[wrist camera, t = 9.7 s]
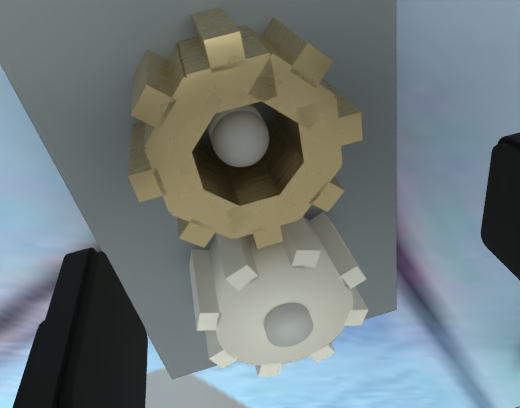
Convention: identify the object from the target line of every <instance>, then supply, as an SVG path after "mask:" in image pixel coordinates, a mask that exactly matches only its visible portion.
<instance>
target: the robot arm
mask: <svg viewBox="0 0 520 408" xmlns="http://www.w3.org/2000/svg"><path fill="white" fill-rule="evenodd" d="M481 238H482V241H483V243H484V244H485V246H486V247H487V248H488V249H489V250H490V251H491V252H492V253H493V254H494V255H495V256H496V257H497V258H498V259H499V260H500V261H501V262H502V263H503V264H504V265H505V266H506V267H507V268H508V269H509V270H510V271H511V272H512V273H513V274H514V275H515V276H516V277H517V278H518V279H519V280H520V133H516V134H512V135H509V136H505V137H502V138H501V139H500V140H499V141H498V144H497V145H496V146H494V148H493V150H492V155H491V162H490V170H489V177H488V184H487V191H486V198H485V206H484V213H483V220H482V227H481ZM147 348H148V338H147V332H146V329H145V327H144V325H143V323H142V321H141V319H140V317H139V315H138V313H137V311H136V310H135V308H134V306H133V304H132V302H131V300H130V298H129V296H128V295H127V293H126V291H125V289H124V287H123V285H122V283H121V281H120V280H119V278H118V276H117V274H116V272H115V270H114V268H113V266H112V265H111V263H110V261H109V259H108V257H107V255H106V254H105V253H104V252H103V251H101V252H97V251H96V250H95V249H94V248H88V249H84V250H80V251H77V252H73V253H69V254H67V255H65V257H64V260H63V263H62V266H61V269H60V273H59V276H58V279H57V283H56V286H55V289H54V293H53V296H52V299H51V302H50V306H49V309H48V312H47V316H46V319H45V321H43V322H42V323H41V324H40V325H39V327H38V329H37V332H36V335H35V338H34V342H33V345H32V348H31V351H30V354H29V357H28V361H27V364H26V367H25V370H24V373H23V376H22V380H21V383H20V386H19V389H18V392H17V395H16V399H15V402H14V405H13V408H145V398H146V395H145V394H146V373H147ZM516 408H520V406H519V407H516Z"/></svg>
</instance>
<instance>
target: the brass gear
mask: <svg viewBox="0 0 520 408" xmlns="http://www.w3.org/2000/svg"><path fill="white" fill-rule="evenodd" d="M191 15H192V18H193V22H194V26H195V30H196V33H197V37H193V38H189V39H185V40H181V41H178V44H177V43H176V44H175V46H174V48H173V50H172V51H171V53H170V55H169V57H168V59H167V60H165V59H164V58H162V57H160V56H158V55H157V54H155V53H153V52H152V51H150V50H148V49H147V50H146V52H145V54H144V56H143V58H142V60H141V62H140V64H139V66H138V68H137V70H136V72H135V75H134V85H133V96H132V106H131V116H133V117H135V118H137V119H139V120H141V121H143V122H141V123H137V124H134V125H132V133H131V145H130V157H129V169H128V177H129V180H130V182H131V184H132V187H133V189H134V191H135V193H136V196H137V198H138V200H139V202H142V201H146V200H150V199H153V198H157V197H160V196H163V198H164V201H165V204H166V206H167V209H168V211H169V213H171V215H173V216H176V217H177V222H178V233H179V239H182V240H185V241H188V242H190V243H193V244H196V245H198V246H201V247H204V248H205V246H206V245H207V243H208V242H209V240H210V239H211V238H212V236H213V235H214V233H215V232H216V233H218V234H221V235H224V236H226V237H229V238H231V239H232V238H233V237H234V239H236V238H239V237H243V236H246V235H250V234H252V235H253V238H254V241H255V244H256V247H257V249H259V248H262V247H266V246H269V245H273V244H276V243H279V242H283V237H282V232H281V227H280V226H281V225H284V224H288V223H291V222H295V221H298V220H299V219H301V218H302V217H303V215H304V214H305V213H306V212H307V210H308V209H309V208H310V206H311V205H312V204H313V205H315V206H317V207H319V208H321V209H323V210H325V211H327V212H328V211H329V210H330V209H331V207H332V206H333V205H334V204H335V202H336V201H337V200H338V199H339V198H340V196H341V195H342V194H343V193H344V191H345V190H344V189H343V187H342V186H341V185H340V183H339V182H338V180H337V179H336V178H335V174H336V173H337V172H338V171H339V169H340V168H341V167H342V166H341V165H342V164H343V163H342V152H341V146H343V145H347V144H350V143H354V142H357V141H361V140H363V139H362V120H361V112H360V111H359V110H358V109H357V108H356V107H355V106H354V105H353V104H352V103H350V102H349V101H348V100H347V99H346V98H345V97H344V96H343V95H341V94H340V93H339V92H338V91H337V90H336V89H335V88H334V87H333V86H331V85H330V84H329V83H328V82H327V81H326V80H325V79H324V78H323V76H324V75H325V74H326V72H327V71H328V69H329V68H330V66H331V65H332V63H333V62H334V61H332V60H331V59H330V58H328V57H327V56H326V55H324V54H323V53H322V52H320V51H319V50H318V49H316V48H315V47H314V46H312V45H311V44H310V43H308V42H307V41H306V40H304V39H303V38H302V37H300V36H299V35H298V34H296V33H295V32H294V31H292V30H291V29H290V28H288V27H287V26H285V25H284V24H283V23H281V22H280V21H278V20H277V19H276V18H274V17H273V19H272V20H271V22H270V23H269V25H268V27H267V28H266V30H265V32H264V33H263V35H262V36H261V35H260V34H258V33H257V32H256V31H254V30H253V29H251V28H250V27H248V26H247V25H246V26H245V25H240V26H237V27H236V26H235V25H234V23H233V22H232V21H231V20H230V19H229V17H228V16H227V15H226V14H225V13H224V11H223V10H222V9H221V8H220V7H217V8H213V9H209V10H205V11H201V12H197V13H193V14H191ZM261 101H262V102H264V103H265V104H267V105H269V106H270V107H272V108H273V110H274V116H275V117H274V118H273V120H272V121H271V123H270V124H269V126H268V127H267V128H268V132H269V145H268V148H267V151H266V152H265V154H264V155H263V157H262V158H261V159H260V160H259V161H257V162H256V163H254V164H253V165H250V166H246V167H234V166H231V165H228V164H226V163H225V162H223V161H222V160H221V159H220V158H219V157H218V156H217V154H216V153H215V151H214V149H213V148H211V147H209V146H207V145H205V144H203V143H201V142H199V139H200V138H201V136H202V134H203V133H204V131H205V130H206V128H207V126H208V125H209V123H210V121H211V120H212V118H213V116H214V115H215V114H216V113H219V112H223V111H227V110H231V109H234V108H238V107H242V106H246V105H249V104H253V103H257V102H261Z"/></svg>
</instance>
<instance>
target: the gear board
mask: <svg viewBox="0 0 520 408" xmlns="http://www.w3.org/2000/svg"><path fill="white" fill-rule="evenodd" d="M217 7H220V8H221V9H222V10H223V11H224V13H225V14H226V15H227V16H228V17H229V19H230V20H231V21H232V22H233V23H234V25H235V26H236V27H237V26H240V25H245V26H246V25H247V26H248V27H250V28H251V29H253V30H254V31H256V32H257V33H258V34H260V35H261V36H262V35H263V33H264V32H265V30H266V28H267V27H268V25H269V23H270V22H271V20H272V19H273V17H274V18H276V19H277V20H278V21H280V22H281V23H283V24H284V25H285V26H287V27H288V28H290V29H291V30H292V31H294V32H295V33H296V34H298V35H299V36H300V37H302V38H303V39H304V40H306V41H307V42H308V43H310V44H311V45H312V46H314V47H315V48H316V49H318V50H319V51H320V52H322V53H323V54H324V55H326V56H327V57H328V58H330V59H331V60H332V61H334V62H333V63H332V65H331V66H330V68H329V69H328V71H327V72H326V74H325V75H324V76H323V78H324V79H325V80H326V81H327V82H328V83H329V84H330V85H331V86H333V87H334V88H335V89H336V90H337V91H338V92H339V93H340V94H341V95H343V96H344V97H345V98H346V99H347V100H348V101H349V102H350V103H352V104H353V105H354V106H355V107H356V108H357V109H358V110H359V111H360V112H361V120H362V139H363V140H361V141H357V142H354V143H350V144H347V145H343V146H341V152H342V163H343V164H342V165H341V166H342V167H341V168H340V169H339V171H338V172H337V173H336V174H335V178H336V179H337V180H338V182H339V183H340V185H341V186H342V187H343V189H344V190H345V191H344V193H343V194H342V195H341V196H340V198H339V199H338V200H337V201H336V202H335V204H334V205H333V206H332V207H331V209H330V210H329V211H328V212H327V211H325V210H323V209H321V208H319V207H317V206H315V205H313V204H312V205H311V206H310V208H309V209H308V210H307V212H306V213H305V214H304V215H303V217H302V218H301V219H299V220H298V221H295V222H291V223H288V224H284V225H281V226H280V227H281V232H282V237H283V242H279V243H276V244H273V245H269V246H266V247H262V248H259V249H257V247H256V244H255V241H254V238H253V235H252V234H250V235H246V236H243V237H239V238H236V239H234V237H233V238H232V239H231V238H229V237H226V236H224V235H221V234H218V233H216V232H215V233H214V235H213V236H212V238H211V239H210V240H209V242H208V243H207V245H206V246H205V248H204V247H201V246H198V245H196V244H193V243H190V242H188V241H185V240H182V239H179V233H178V222H177V217H176V216H173V215H171V213H169V211H168V209H167V206H166V204H165V201H164V198H163V196H160V197H157V198H153V199H150V200H146V201H142V202H139V200H138V198H137V196H136V193H135V191H134V189H133V187H132V184H131V182H130V180H129V177H128V169H129V157H130V145H131V133H132V125H134V124H137V123H141V122H143V121H141V120H139V119H137V118H135V117H133V116H131V106H132V96H133V85H134V75H135V72H136V70H137V68H138V66H139V64H140V62H141V60H142V58H143V56H144V54H145V52H146V50H147V49H148V50H150V51H152V52H153V53H155V54H157V55H158V56H160V57H162V58H164V59H165V60H167V59H168V57H169V55H170V53H171V51H172V50H173V48H174V46H175V44H176V43H177V44H178V41H181V40H185V39H189V38H193V37H197V33H196V30H195V26H194V22H193V18H192V15H191V14H193V13H197V12H201V11H205V10H209V9H213V8H217ZM0 64H1V66H2V68H3V70H4V72H5V74H6V75H7V77H8V79H9V81H10V83H11V85H12V86H13V88H14V90H15V92H16V94H17V96H18V98H19V99H20V101H21V103H22V105H23V107H24V109H25V110H26V112H27V114H28V116H29V118H30V120H31V121H32V123H33V125H34V127H35V129H36V131H37V132H38V134H39V136H40V138H41V140H42V142H43V143H44V145H45V147H46V149H47V151H48V153H49V154H50V156H51V158H52V160H53V162H54V164H55V165H56V167H57V169H58V171H59V173H60V175H61V176H62V178H63V180H64V182H65V184H66V186H67V187H68V189H69V191H70V193H71V195H72V197H73V199H74V200H75V202H76V204H77V206H78V208H79V210H80V211H81V213H82V215H83V217H84V219H85V221H86V222H87V224H88V226H89V228H90V230H91V232H92V233H93V235H94V237H95V239H96V241H97V243H98V244H99V246H100V248H101V250H102V251H103V252H104V253H105V254H106V255H107V257H108V259H109V261H110V263H111V265H112V266H113V268H114V270H115V272H116V274H117V276H118V278H119V280H120V281H121V283H122V285H123V287H124V289H125V291H126V293H127V295H128V296H129V298H130V300H131V302H132V304H133V306H134V308H135V310H136V311H137V313H138V315H139V317H140V319H141V321H142V323H143V325H144V327H145V329H146V332H147V334H148V336H149V338H150V340H151V342H152V344H153V345H154V347H155V349H156V351H157V353H158V355H159V356H160V358H161V360H162V362H163V364H164V366H165V367H166V369H167V371H168V373H169V374H170V376H171V378H172V379H175V378H178V377H181V376H184V375H188V374H191V373H194V372H197V371H201V370H204V369H207V368H210V367H213V366H217V365H218V366H220V367H221V368H222V369H223V368H224V367H226V366H228V365H229V364H231V363H232V362H234V361H236V360H239V361H241V362H244V363H248V364H253V365H255V366H256V370H257V374H258V377H261V376H276V375H279V372H280V369H281V366H282V364H287V363H291V362H294V361H298V360H300V359H303V358H306V357H308V356H310V357H312V358H313V359H314V360H315V361H316V362H317V363H318V362H320V361H322V360H323V359H325V358H327V357H328V356H330V355H332V354H333V353H335V351H334V348H333V346H332V344H331V342H332V341H333V340H334V339H335V338H336V337H337V336H338V335H339V334H340V333H341V332H342V330H343V329H344V328H345V326H358V325H362V323H363V321H364V320H365V319H368V318H371V317H375V316H378V315H381V314H384V313H387V312H391V311H394V310H397V271H396V0H0ZM274 117H275V116H274V110H273V108H272V107H270V106H269V105H267V104H265V103H264V102H262V101H261V102H257V103H253V104H249V105H246V106H242V107H238V108H234V109H231V110H227V111H223V112H219V113H216V114H215V115H214V116H213V118H212V120H211V121H210V123H209V125H208V126H207V128H206V130H205V131H204V133H203V134H202V136H201V138H200V139H199V142H201V143H203V144H205V145H207V146H209V147H211V148H213V149H214V151H215V153H216V154H217V156H218V157H219V158H220V159H221V160H222V161H223V162H225V163H226V164H228V165H231V166H234V167H246V166H250V165H253V164H254V163H256V162H257V161H259V160H260V159H261V158H262V157H263V155H264V154H265V152H266V151H267V148H268V145H269V132H268V128H267V127H268V126H269V124H270V123H271V121H272V120H273V118H274Z"/></svg>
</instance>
